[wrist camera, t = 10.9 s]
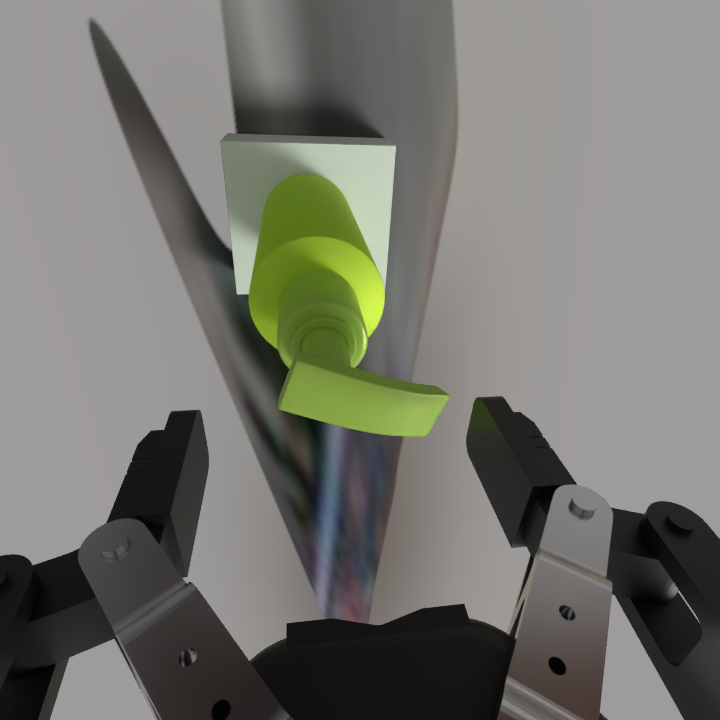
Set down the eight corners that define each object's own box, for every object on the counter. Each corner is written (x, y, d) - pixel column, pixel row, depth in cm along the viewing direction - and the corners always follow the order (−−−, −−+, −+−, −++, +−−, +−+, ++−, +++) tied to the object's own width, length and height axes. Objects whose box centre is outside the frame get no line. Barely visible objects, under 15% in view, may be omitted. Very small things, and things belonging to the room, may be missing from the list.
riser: (227, 133, 31) (220, 141, 28) (384, 138, 32) (395, 146, 29) (241, 273, 36) (237, 294, 33) (376, 272, 38) (384, 291, 34)
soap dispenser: (347, 277, 33) (406, 486, 17) (252, 246, 31) (211, 450, 15) (378, 198, 31) (486, 354, 14) (277, 159, 29) (261, 286, 12)
